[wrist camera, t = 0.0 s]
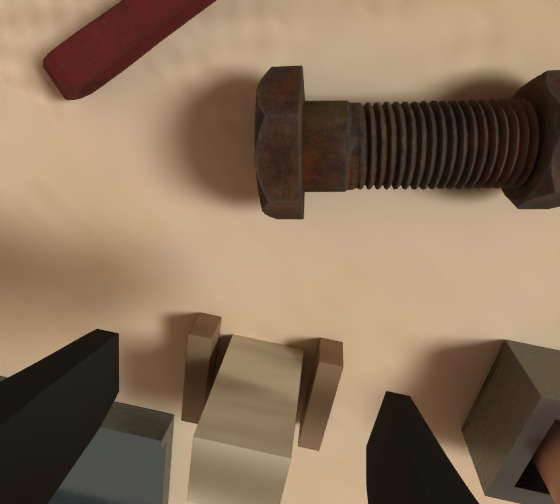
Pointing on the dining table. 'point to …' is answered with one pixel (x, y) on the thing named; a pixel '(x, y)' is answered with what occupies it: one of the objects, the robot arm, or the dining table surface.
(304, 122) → the bolt
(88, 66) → the pipe wrench
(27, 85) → the dining table surface
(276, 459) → the peg
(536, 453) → the release button
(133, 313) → the dining table surface
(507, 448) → the button housing
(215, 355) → the socket
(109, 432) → the tray
